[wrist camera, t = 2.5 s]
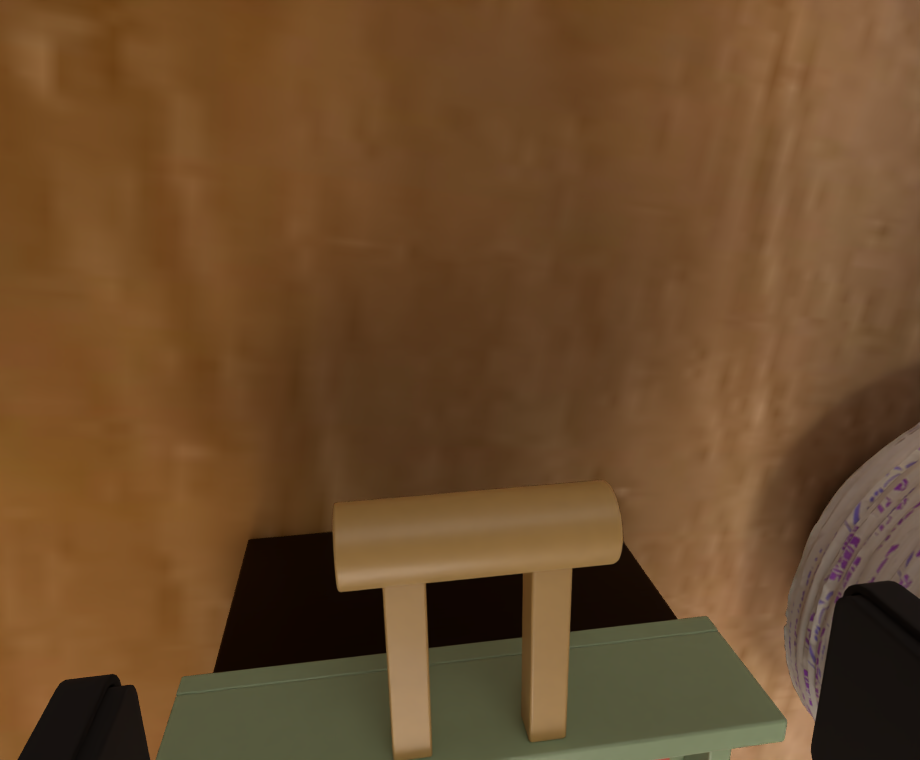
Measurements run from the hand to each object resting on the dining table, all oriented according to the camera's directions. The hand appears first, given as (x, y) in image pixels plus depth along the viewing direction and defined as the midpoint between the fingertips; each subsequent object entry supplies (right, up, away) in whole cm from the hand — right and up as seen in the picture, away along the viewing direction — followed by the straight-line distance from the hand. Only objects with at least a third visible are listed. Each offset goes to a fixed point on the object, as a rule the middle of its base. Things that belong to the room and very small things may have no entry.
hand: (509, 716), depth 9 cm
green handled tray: (-1, -4, +9) cm, 9 cm away
